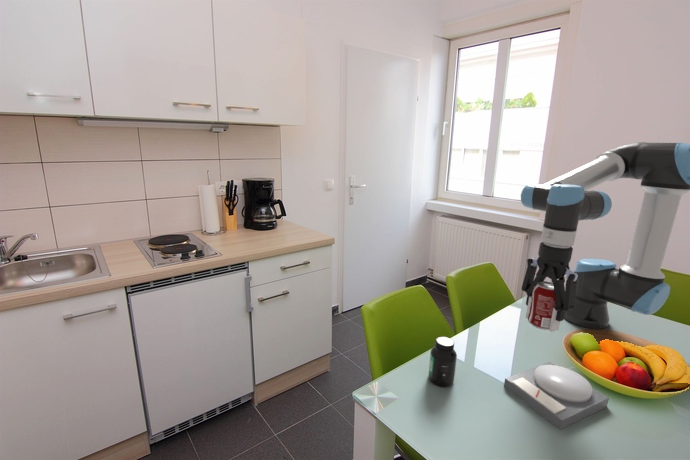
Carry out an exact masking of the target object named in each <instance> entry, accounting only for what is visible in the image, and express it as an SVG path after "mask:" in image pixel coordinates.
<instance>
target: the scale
mask: <svg viewBox="0 0 690 460" xmlns="http://www.w3.org/2000/svg"><path fill="white" fill-rule="evenodd" d="M503 382H504V383H503V387H504V388H505V389H507V390H508V391H509V392H511V393H512V394H513V395H515V396H516V397H517V396H518V397H517V398H519V399H520V400H521V401H522V402H524V403H525V404H527V405H528V406H530V408H531V409H533V410H534V411H535V412H537V413H538V414H540V415H541V416H542V417H543V418H545V419H546V420H548V421H549V422H550V423H552V424H553V425H554V426H556V427H557V428H558V429H559V430H563V429H564V428H566V427H568V426H571V425H572V424H574V423H576V422H578V421H580V420H582V419H584V418H586V417H589V416H590V415H592V414H594V413H596V412H598V411H601V410H602V409H605V408H607V407H608V403H609V400H610V398H609V396H607V395H605V394H604V393H602V392H600V391H599V390H597V389H595V388H594V387H592V385H591V383H590V382H589V381H588V380H587V379H586V378H585V377H584V376H582V375H581V374H579V373H577V372H575V371H574V370H572V369H570V368H567V367H564V366H560V365H556V364H554V363H552V362H551V361H548V362H545V363H543V364H540V365H538V366H534V367H532V368H529V369H527V370H524V371H521V372H518V373H515V374H512V375H509V376H507V377H505V378H504V381H503Z"/></svg>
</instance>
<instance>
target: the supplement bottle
mask: <svg viewBox="0 0 690 460" xmlns="http://www.w3.org/2000/svg"><path fill="white" fill-rule="evenodd" d="M457 355H458V354H457V352H456V351H455V341H454V340H453V339H452V338H450V337H448V336H438V337H436V338H435V342H434V346H432V348H431V350H430V355H429V365H428V366H429V367H428V380H429V381H430V382H431V383H432V384H433V385H434V386H436V387H439V388H449V387H451V386H452V385H453V384H454V382H455V375H456V365H457V360H458V359H457V357H458V356H457Z"/></svg>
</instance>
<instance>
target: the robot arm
mask: <svg viewBox="0 0 690 460" xmlns="http://www.w3.org/2000/svg"><path fill="white" fill-rule="evenodd" d="M619 179H632V180H633V179H634V180H641V181H640V185H639V186H640V187H641V189H642V190H643V191H644V195H643V199H642V203H641V205H640V210H639V214H638V217H637V221H636V225H635V229H634V233H633V237H632V239H631V240H632V241H631V244H630V247H629V252H628V256H627V260H626V263H624V264H622V265H620V266H619V268H617V263H615V262H613V261H611V260H607V259H601V258H598V259H597V258H584V259H583V258H582V259H580V260H578V261H577V262H576V263H575V267H574V269H573V271H572V270H571V268H570V266H569V265H570V262H571V260H572V256H573V251H574V249H573V247H572V246H574V245H575V241H576V235H577V231H578V225H579V222H580V221H587V220H592V221H593V220H596V219H600V218H604V217H605V216H606V215H608V214H609V213H610V212H611V209H612V206H613V205H612V202H613V201H612V199H611V196H610V195H608V193H606V192H604V191H601V190H594V189H593V190H591V189H592V188H595V187H597V186H599V185H601V184H603V183H605V182H611V181H615V180H619ZM688 192H690V143H687V142H645V141H643V142H642V141H641V142H633V143H627V144H624V145H621V146H618V147H614V148H612V149H610V150H607V151H604V152H602V153H600V154H598V155H597V156H596V157H595V159H593V161H591V162H588V163H586V164H584V165H581V166H580V167H577V168H575V169H573V170H571V171H569V172H566V173H565V174H562V175H560V176H558V177H556V178H554V179H551V180H549V181H547V182H545V183H543V184H539V183H528V184H526V185H525V186H524V187H523V188H522V191H521V192H520V203H521V204H522V205H523V206H524V207H526V208H528V209H529V208H530V209H532V210H536V211H540V212H545V214H544V221H543V224H542V231H541V235H540V241H541V242H540V243H539V247H538V252H537V254H538V257H532V258H531V257H530V258H528V259H527V260H526V261H527V262H526V263H527V267H526V271H525V273H524V274H525V275H524V278H523V282H522V285H521V290H522V291H523V292H525V293H526V295H527V296H526V300H525V305H526V306H527V309H526V311H525V312H526V313H525V318H526V319H527V320H528V316H529V310H530V304H531V299H532V293H533V288H534V287H535V286H536V285H537V282H538V283H540V282H543V281H546V278H549V279H550V280H551V281H550V282H552V283H553V285H554V292H555V300H556V308H553V312H552V318H551V323H550V328H549V330H548V331H549V332H551V333H552V332H556V331H559V329H560V325H561V322H562V321H564V320H566V321H567V322H570V323H572V324H574V325H576V326H580V327H583V328H587V329H595V330H597V329H598V330H601V329H606V328H608V326H609V324H610V315H609V314H610V313H609V310H608V309H609V308H608V302H609V303H611V304H614V305H616V306H617V305H618V306H620V307H622V308H624V309H627V310H630V311H631V312H634V313H635V312H636V313H638V314H641V315H645V316H649V315H650V316H651V315H653V314H655V313H657V312H658V311H659V310H660V309H661V308H662V307H663V306H664V304H665V303H666V301H667V300H668V298H669V296H670V292H671V286H670V285H669V284H668V283H666V282H665V278H666V275H665V274H664V273H663V271H662V270H661V268H662V265H663V261H664V258H665V255H666V252H667V251H666V250H667V248H668V244H669V241H670V238H671V237H670V236H671V233H672V230H673V227H674V223H675V220H676V216H677V212H678V209H679V206H680V201H681V198H682V196H683V195H684V194H686V193H688ZM537 269H538V270H537ZM565 275H566V276H565Z"/></svg>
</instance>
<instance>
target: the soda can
mask: <svg viewBox="0 0 690 460" xmlns="http://www.w3.org/2000/svg"><path fill="white" fill-rule="evenodd" d="M553 308H556V300H555V292H554V285H553V283H552V281H546V280H544V281H543V282H540V283H538V282H537V285H536V286H535V287H534V288H533V293H532V299H531V304H530V310H529V316H528V319H527V322H528V323H529V324H530V325H532V326H533V327H534V328H537V329H540V330H544V331H545V330H546V331H547V330H548V331H549V328H550V323H551V318H552V312H553Z"/></svg>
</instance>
